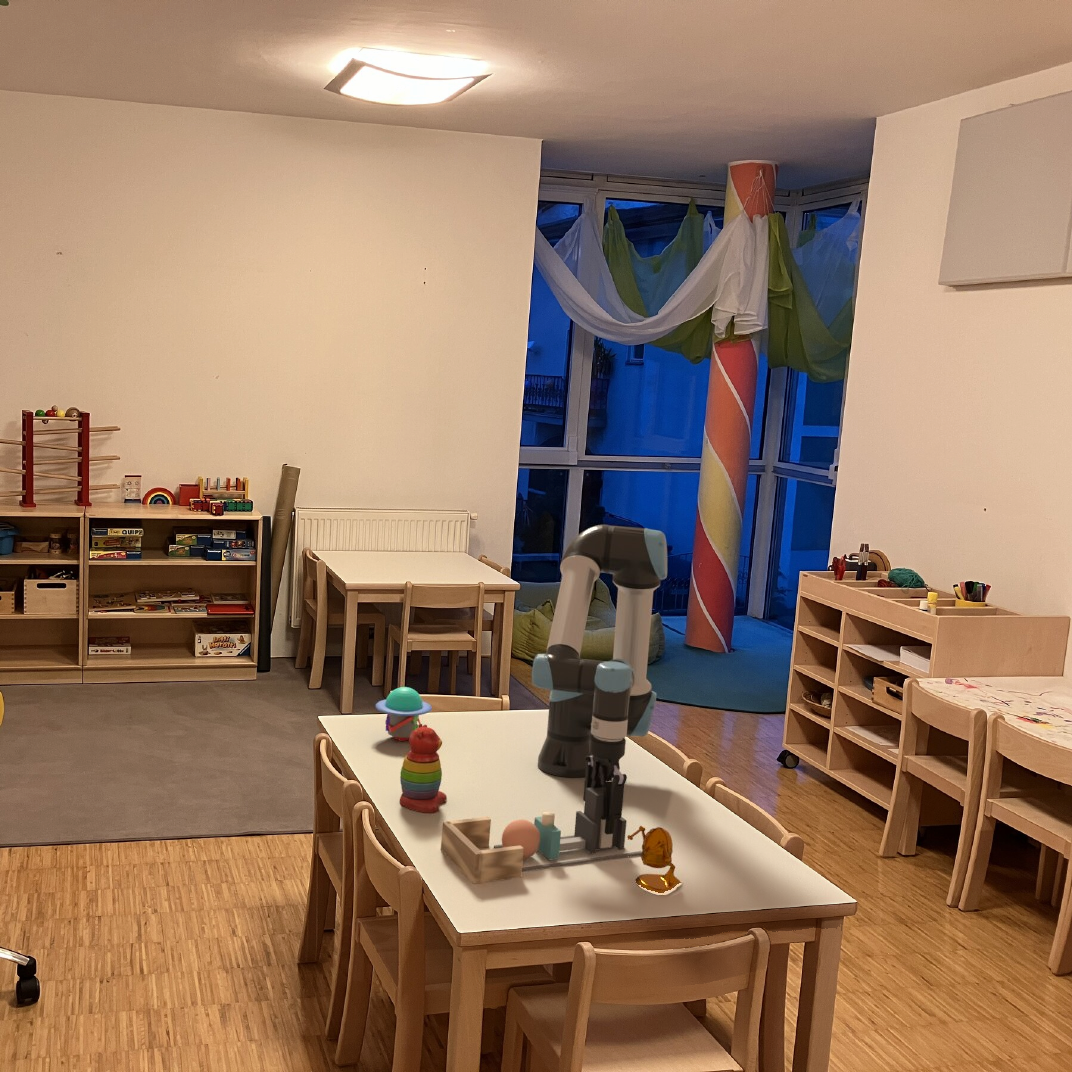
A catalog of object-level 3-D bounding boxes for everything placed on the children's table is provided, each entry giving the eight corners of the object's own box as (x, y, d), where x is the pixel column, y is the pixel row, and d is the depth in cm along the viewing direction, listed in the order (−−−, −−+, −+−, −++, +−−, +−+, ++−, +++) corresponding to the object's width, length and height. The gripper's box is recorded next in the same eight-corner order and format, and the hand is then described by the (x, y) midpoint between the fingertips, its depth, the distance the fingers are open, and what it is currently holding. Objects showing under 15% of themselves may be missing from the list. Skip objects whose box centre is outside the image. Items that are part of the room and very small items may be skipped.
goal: (485, 843, 242) (487, 816, 241) (521, 877, 227) (523, 848, 226) (440, 849, 237) (442, 821, 237) (473, 883, 222) (476, 854, 222)
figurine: (621, 880, 229) (627, 823, 228) (666, 873, 234) (671, 816, 233) (646, 899, 222) (651, 839, 220) (691, 890, 227) (697, 832, 225)
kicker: (611, 834, 251) (616, 781, 249) (630, 848, 244) (635, 794, 242) (531, 844, 242) (535, 790, 240) (548, 860, 235) (553, 803, 233)
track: (612, 832, 254) (613, 830, 254) (642, 854, 243) (643, 852, 243) (493, 847, 240) (493, 845, 240) (519, 872, 230) (519, 869, 229)
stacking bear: (435, 814, 256) (440, 737, 254) (392, 808, 258) (396, 731, 256) (448, 798, 267) (453, 724, 264) (407, 792, 269) (411, 718, 266)
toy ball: (545, 856, 238) (547, 819, 237) (529, 869, 231) (532, 831, 230) (510, 847, 241) (513, 811, 240) (493, 859, 234) (496, 822, 233)
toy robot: (426, 749, 300) (430, 697, 298) (369, 745, 300) (372, 692, 298) (432, 732, 315) (436, 682, 313) (378, 728, 315) (381, 678, 313)
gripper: (572, 725, 248) (563, 828, 251) (614, 750, 232) (604, 860, 235) (602, 722, 251) (593, 824, 254) (645, 748, 236) (635, 856, 239)
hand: (598, 841), depth 245 cm, fingers closed on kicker, 4 cm apart
